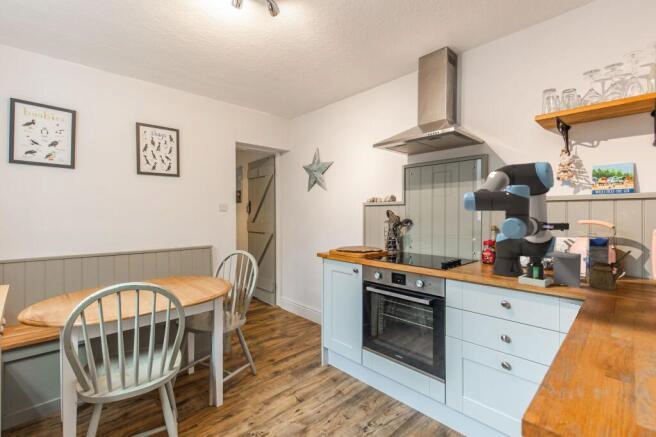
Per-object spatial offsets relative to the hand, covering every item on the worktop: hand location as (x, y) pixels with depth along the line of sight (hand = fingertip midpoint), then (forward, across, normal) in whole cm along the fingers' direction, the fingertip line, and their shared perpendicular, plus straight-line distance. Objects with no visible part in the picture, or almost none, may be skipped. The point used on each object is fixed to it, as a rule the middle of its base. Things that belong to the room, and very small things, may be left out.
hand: (544, 224), depth 130 cm
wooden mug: (+30, +17, -30) cm, 45 cm away
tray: (+13, -7, -29) cm, 33 cm away
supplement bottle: (+13, -7, -29) cm, 32 cm away
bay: (+15, +3, -29) cm, 33 cm away
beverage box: (+40, +11, -30) cm, 51 cm away
